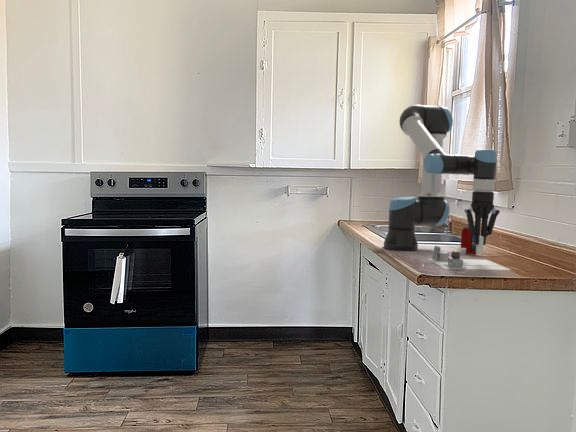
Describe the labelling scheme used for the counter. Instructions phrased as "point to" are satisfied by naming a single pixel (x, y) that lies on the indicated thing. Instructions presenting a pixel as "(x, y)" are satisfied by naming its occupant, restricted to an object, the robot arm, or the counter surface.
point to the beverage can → (468, 241)
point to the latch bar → (458, 253)
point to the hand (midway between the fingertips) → (479, 253)
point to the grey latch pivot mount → (455, 263)
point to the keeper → (440, 254)
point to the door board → (473, 264)
